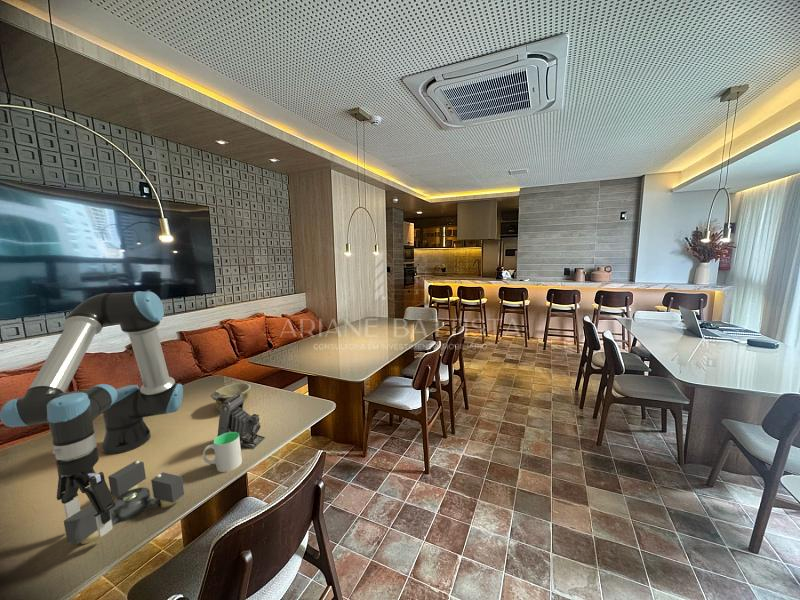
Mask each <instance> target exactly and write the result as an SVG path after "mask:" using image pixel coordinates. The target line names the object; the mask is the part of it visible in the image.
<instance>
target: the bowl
mask: <svg viewBox="0 0 800 600" xmlns="http://www.w3.org/2000/svg"><path fill="white" fill-rule="evenodd" d="M251 387H252V386H251V385H250V384H249V383H247V382H236V383H231V384H228V385H225V386H223V387H220V388H218V389H217V390H215V391H214V392H213V393H211V395H210V398H212V400H214V401H215V409H216V410H217V411H219V412H220V408H221V405H222V404H223V403H224V401H226V400H228V399H229V398H230V397H232V396H233V395H235V394H237V393H238V392H241V393H242V394H241V395H243V397H244V402H245V401H246V400H247V399H248V397H249V392H250V391H251Z"/></svg>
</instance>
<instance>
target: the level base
mask: <svg viewBox="0 0 800 600" xmlns="http://www.w3.org/2000/svg"><path fill="white" fill-rule="evenodd" d="M113 500H114V502H115V504H116V506H115V507H113V508H112V509H111V515H112V520H111V521H112V526H114V525H115V524H117V523H119V522H124V521H127V520H131V519H133V518H135V517H137V516H139V515H140V514H142V513H143V512H145V511H146V510H147V509H151V508H152V509H153V508H158V507H159V506H160V505H161V502H160V499H157V498H152V497H151V491H150V489H149V488H148V487H139V488H136V489H133V490H130V491H127V492H125V493H123V494H122V495H120V496H117V497H116V498H115V499H113Z"/></svg>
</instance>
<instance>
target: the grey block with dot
mask: <svg viewBox="0 0 800 600" xmlns="http://www.w3.org/2000/svg"><path fill="white" fill-rule="evenodd" d="M107 478H108V485H109V491H110V493H111V495H112V496H117V497H119V496H120V495H122V494H123V493H125V492H127V491H130V490H133V489H136V488H140V487H139V484H140V483H142V482H143V481H144V480H146V479H147V476H146V470H145V462H143V461H140V460H135V461H133V462H131V463H129V464H128V465H126V466H124V467H122V468H120V469H119V470H117V471H115V472H113V473H111V474H110V475H109V476H108V477H107Z"/></svg>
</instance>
